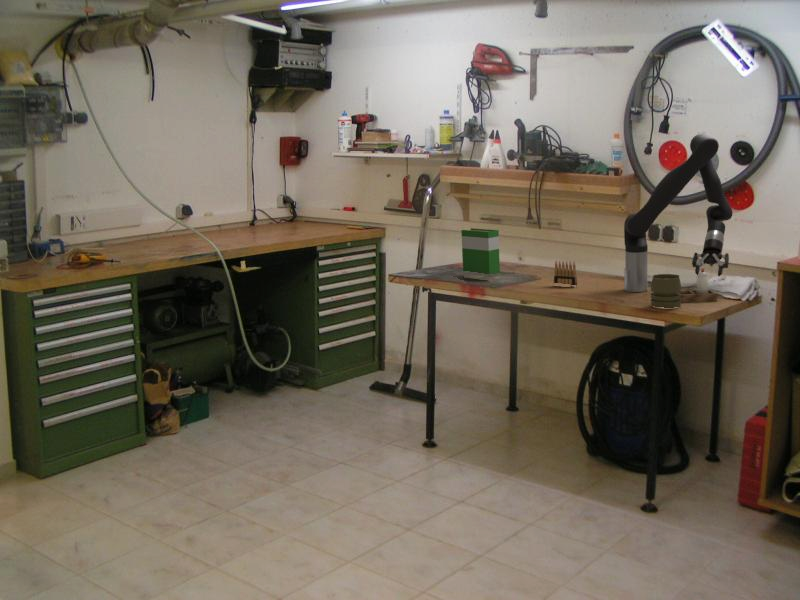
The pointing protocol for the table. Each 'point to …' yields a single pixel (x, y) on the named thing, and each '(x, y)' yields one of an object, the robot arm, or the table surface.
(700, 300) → the wooden compartment tray
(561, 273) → the ammunition clip
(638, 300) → the table surface
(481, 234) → the green box
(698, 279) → the glue bottle
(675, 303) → the olive green pot
